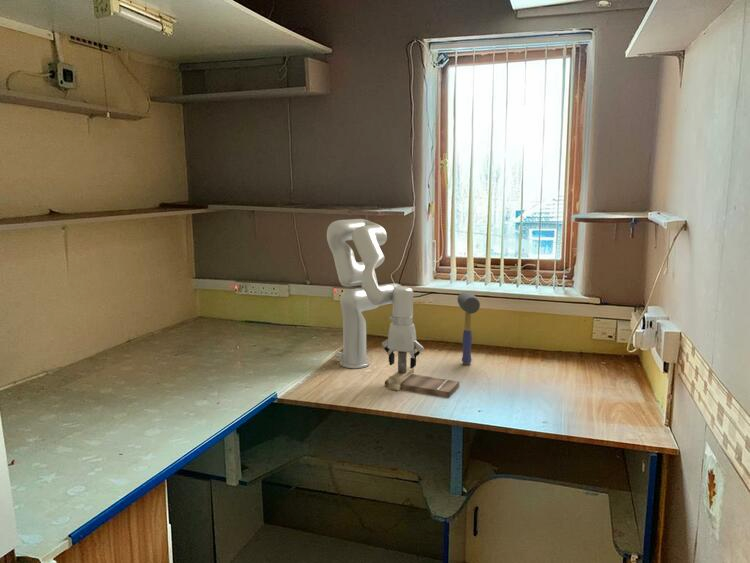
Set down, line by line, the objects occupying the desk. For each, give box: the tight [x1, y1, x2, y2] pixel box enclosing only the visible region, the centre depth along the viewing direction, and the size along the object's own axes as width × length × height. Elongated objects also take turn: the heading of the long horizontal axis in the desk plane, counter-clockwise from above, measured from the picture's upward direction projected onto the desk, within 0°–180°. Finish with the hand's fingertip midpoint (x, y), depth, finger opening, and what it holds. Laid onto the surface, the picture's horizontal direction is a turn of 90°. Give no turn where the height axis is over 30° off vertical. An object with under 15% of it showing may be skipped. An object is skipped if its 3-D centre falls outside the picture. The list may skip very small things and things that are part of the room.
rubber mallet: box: [457, 291, 481, 365], centre depth 236 cm, size 12×8×30 cm, turn 4°
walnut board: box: [384, 373, 460, 398], centre depth 213 cm, size 25×12×2 cm, turn 65°
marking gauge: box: [388, 351, 415, 391], centre depth 215 cm, size 4×15×12 cm, turn 155°
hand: (402, 365), depth 215 cm, fingers open, 7 cm apart
